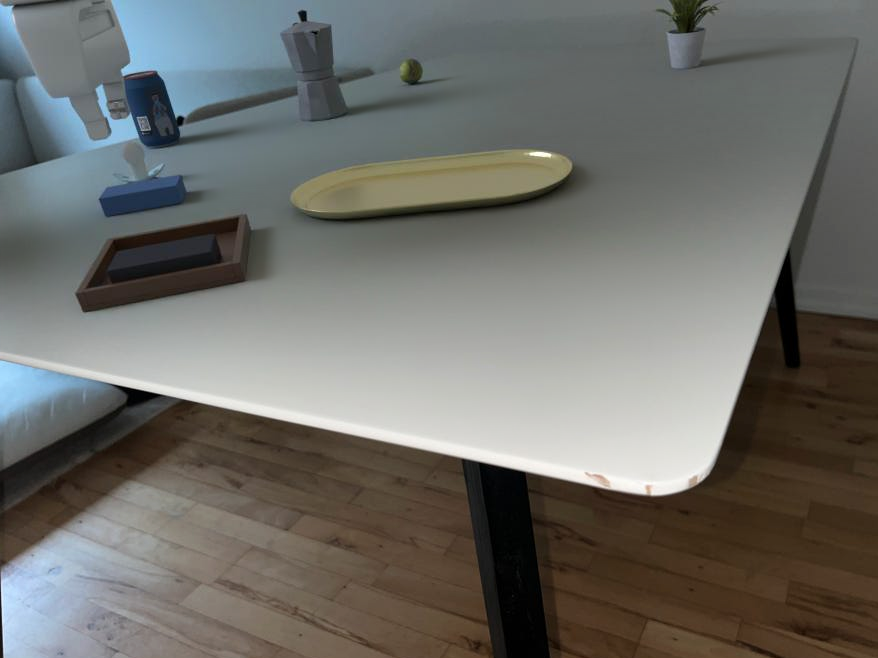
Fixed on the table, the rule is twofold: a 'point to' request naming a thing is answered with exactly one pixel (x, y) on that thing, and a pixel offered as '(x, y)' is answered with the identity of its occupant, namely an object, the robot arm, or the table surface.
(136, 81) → the soda can
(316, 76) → the coffeepot
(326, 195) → the serving platter
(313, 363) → the table surface
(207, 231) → the tray
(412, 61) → the lime
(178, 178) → the pad blue
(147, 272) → the pad charcoal
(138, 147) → the pacifier
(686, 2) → the house plant
